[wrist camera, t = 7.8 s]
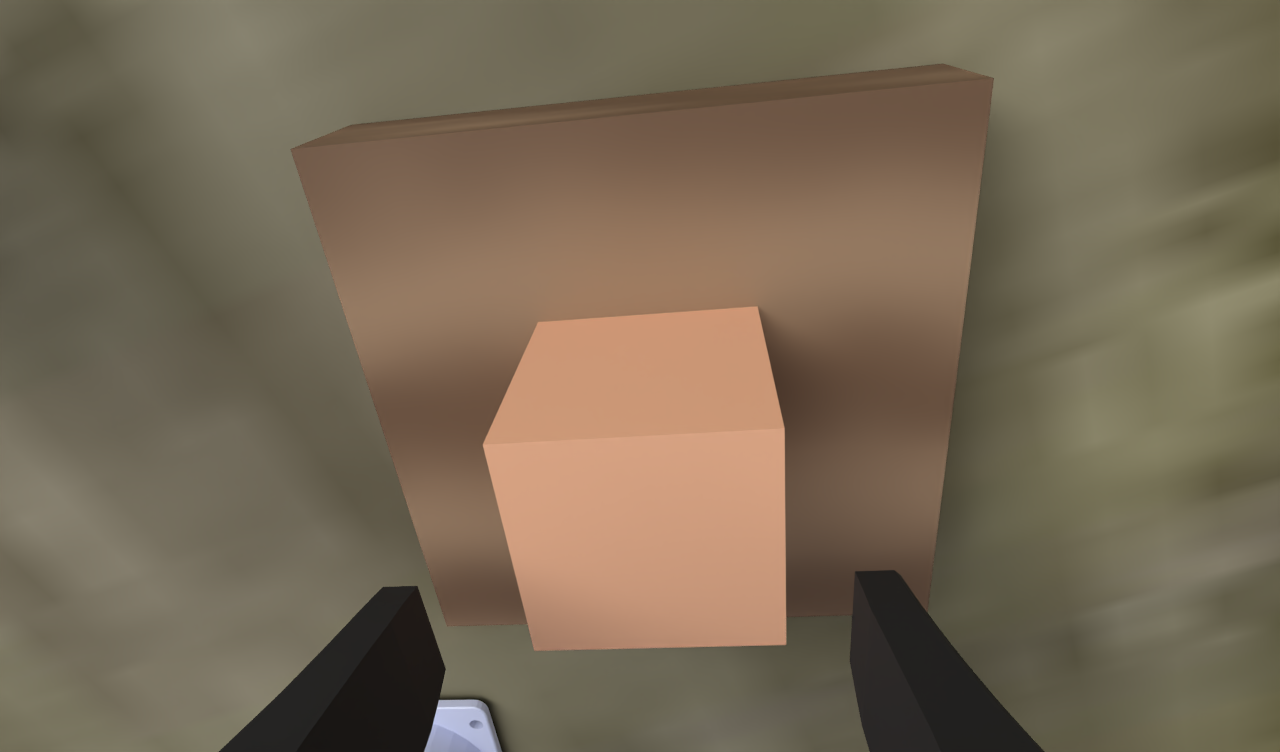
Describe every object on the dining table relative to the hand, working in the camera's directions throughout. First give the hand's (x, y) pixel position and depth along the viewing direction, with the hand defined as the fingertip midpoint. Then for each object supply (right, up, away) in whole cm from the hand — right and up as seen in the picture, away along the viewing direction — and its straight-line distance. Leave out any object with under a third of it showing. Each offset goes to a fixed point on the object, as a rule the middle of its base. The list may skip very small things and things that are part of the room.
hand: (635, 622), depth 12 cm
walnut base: (+1, +5, +8) cm, 9 cm away
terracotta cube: (+1, +3, +5) cm, 6 cm away
